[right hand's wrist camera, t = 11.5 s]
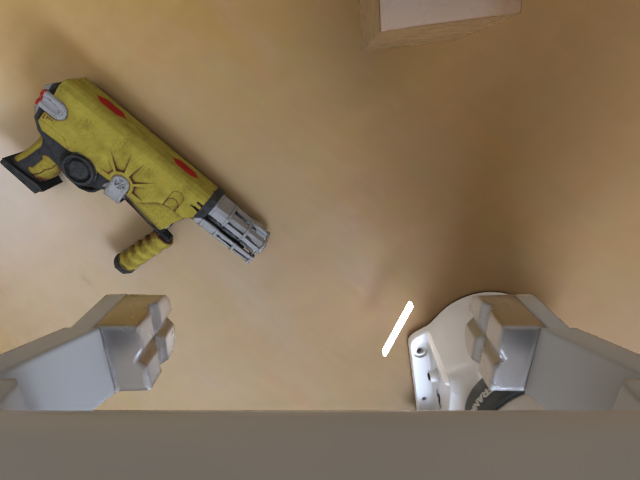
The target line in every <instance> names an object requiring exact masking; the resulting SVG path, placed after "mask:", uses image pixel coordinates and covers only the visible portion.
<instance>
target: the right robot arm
mask: <svg viewBox="0 0 640 480" xmlns="http://www.w3.org/2000/svg"><path fill="white" fill-rule="evenodd" d="M412 308H413V305H412V302H410V301H409V302H408V304H407V306H406V307H405V309H404V311H403V313H402V315H401V317H400V318H399V320H398V322H397V324H396V326H395V328H394V329H393V331H392V333H391V335H390V337H389V339H388V340H387V342H386V344H385V346H384V348H383V350H382V352H383V356H386V355H387V353H388V351H389V350H390V348H391V346H392V344H393V342H394V341H395V339H396V337H397V335H398V333H399V332H400V330H401V328H402V326H403V324H404V323H405V321H406V319H407V317H408V315H409V314H410V312H411V310H412ZM170 311H171V306H170V301H169V298H168V297H167V296H166V295H131V294H130V295H128V294H111V295H106V296H104V297H103V298H102V299H101V300H100V301H99V302H98V303H97V304H96V305H95V306H94V307H93V308H92V309H90V310H89V311H88V312H87V313H86V314H85V315H84V316H83V317H82V318H81V319H80V320H79V321H78V322H76V323H75V324H74V325H73V326H72V327H71V328H63V329H61V330H58V331H56V332H53V333H51V334H49V335H46V336H44V337H41V338H39V339H37V340H34V341H32V342H29V343H27V344H24V345H22V346H20V347H17V348H15V349H12V350H10V351H8V352H5V353H3V354H0V480H640V355H639V354H637V353H635V352H632V351H630V350H627V349H625V348H623V347H620V346H618V345H615V344H613V343H611V342H608V341H606V340H603V339H601V338H599V337H596V336H594V335H591V334H589V333H587V332H584V331H582V330H579V329H577V328H569V327H568V326H567V325H566V324H565V323H564V322H562V321H561V320H560V319H559V318H558V317H557V316H556V315H555V314H554V313H553V312H552V311H551V310H550V309H549V308H547V307H546V306H545V305H544V304H543V303H542V302H541V301H540V300H539V299H538V298H537V297H536V296H534V295H531V294H518V295H509V294H506V293H500V292H482V293H477V294H472V295H469V296H466V297H464V298H461V299H459V300H457V301H455V302H453V303H452V304H450V305H449V306H447V307H446V308H445V309H444V310H443V311H441V312H440V313H439V314H438V316H437V317H436V318H435V319H434V320H433V321H432V322H431V323H430V324H429V325H427V326H425V327H423V328H421V329H419V330H417V331H416V332H414V333H412V334H411V335H410V336H409V338H408V347H409V355H410V362H411V370H412V378H413V385H414V393H415V401H416V408H417V410H93V409H95V408H96V407H97V406H99V405H100V404H101V403H103V402H104V401H105V400H107V399H108V398H109V397H111V396H112V395H113V394H115V391H140V390H151V388H152V387H153V385H154V383H155V381H156V380H157V378H158V376H159V375H160V373H161V366H160V364H161V363H163V362H165V361H166V360H168V359H169V357H170V355H171V353H172V351H173V347H174V343H175V329H174V324H173V323H172V322H171V321H170V320H169V319H168V318H167V316H168V314H169V313H170ZM419 348H421V349H420V350H417V349H419Z"/></svg>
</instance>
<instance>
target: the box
mask: <svg viewBox="0 0 640 480" xmlns="http://www.w3.org/2000/svg"><path fill="white" fill-rule="evenodd" d="M521 3H522V0H359V4H360V19H361V34H362V50H363V52H368V51H375V50H383V49H391V48H398V47H406V46H414V45H422V44H429V43H437V42H445V41H453V40H457V39H459V38H462V37H464V36H466V35H469V34H471V33H474V32H476V31H478V30H481V29H483V28H486V27H488V26H490V25H493V24H495V23H498V22H500V21H503V20H505V19H507V18H510V17H512V16H515V15H517V14H519V13H521Z"/></svg>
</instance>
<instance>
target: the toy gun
mask: <svg viewBox="0 0 640 480" xmlns="http://www.w3.org/2000/svg"><path fill="white" fill-rule="evenodd" d="M34 108H35V116H34V117H35V121H36V125H37V129H38V131H39V133H40V134H41V137H40V139H39V140H38V141H37V142H36V143H34V144H33V145H32V146H31V147H30V148H29V149H27V150H25V151H23V152H20V153H17V154H14V155H11V156H8V157H5V158H2V160H1V161H0V163H1V164H2V165H3V166H4V167H5V168H6V169H8V170H9V171H10V172H11V173H12V174H13V175H14V176H15V177H17V178H18V179H19V180H20V181H21V182H22V183H23V184H25V185H26V186H27V187H28V188H29V189H30V190H31V191H32V192H34V193H38V192H43V191H45V190H47V189H49V188H51V187H53V186H55V185H57V184H60V183H62V182H63V181H62V180H61V179H60V177H59V176H58V174H59V173H60V172H61V171H63V173H64V174H65V175H66V177H67V178H68V179H69V180H70V181H71V182H73V183H74V184H75V185H76V186H77V187H78V188H80V189H82V190H85V191H87V192H96V191H98V190H100V189H104V194H106V195H107V196H109V197H110V198H111V199H113V200H114V201H115V202H117V203H121V202H122V201H123V200H126V201H127V202H128V203H129V204H130V205H131V206H132V207H133V208H134V209H135V210H136V211H137V212H138V213H139V214H140V215H141V216H142V217H143V218H144V219H145V220H146V222H148V223H149V224H150V225H151V226H152V227H153V228H154V229H155V230H154V231H153V232H152V233H151V234H149V235H146V236H145V238H144V239H143V240H139V241H137V243H136V245H132V246H130V247H129V249H128V250H126V251H123V252H122V253H120V254H117V255H116V257H115V259H114V265H115V268H116V269H117V270H119V271H120V272H121V273H123V274H126V273H132V272H133V271H134V270H135V269H136V268H137V267H138V266H139V265H140V264H144V263H145V262H146V261H147V260H148V259H150V258H152V257H154V256H155V254H158V253H160V252H161V251H162V250H163V248H168V247H169V246H171V245H172V243H173V235H172V234H171V233H170V232H169V231H168V230H167V228H168V227H171V226H172V224H173V223H175V222H177V221H179V220H182V219H183V218H191V219H192V220H193V221H195V222H196V223H197V224H198V225H199V226H202V227H203V228H204V229H205V230H206V231H208V232H209V233H210V234H211V235H212V236H213V237H215V238H217V239H218V240H219V241H220V242H222V243H223V244H224V245H225V246H227V247H228V248H229V249H230V250H233V251H234V252H235V253H236V254H237V255H239V256H240V257H241V258H242V259H244V260H245V262H246V263H247V264H248V263H249V262H251V261H252V260H253V259H254V256H255V255H256V254H257V253H258V254H259V253H260V252H261V251H262V250H263V249H264V248H265V246H266V244H267V241H268V239H269V236H270V232H269V231H268V232H267V231H266V230H265V229H264V228H263V227H261V226H260V225H259V224H258V223H257V222H256V221H255V220H254V219H252V218H251V217H249V216H248V215H247V214H246V213H245V212H243V211H242V210H241V209H240V208H239V206H237V205H235V204H234V203H233V202H232V201H231V200H230V199H228V198H227V197H226V196H225V195H224V192H223V191H222V190H221V189H219V188H218V187H217V186H216V185H215V184H213V183H212V182H211V181H210V180H209V179H207V178H206V177H205V176H204V175H203V174H201V173H200V172H199V171H198V170H197V169H195V168H194V167H193V166H192V165H191V164H189V163H188V162H187V161H186V160H184V159H183V158H182V157H181V156H180V155H178V154H177V153H176V152H175V151H174V150H172V149H171V148H170V147H169V146H168V145H166V144H165V143H164V142H163V141H162V140H160V139H159V138H158V137H157V136H156V135H154V134H153V133H152V132H151V131H150V130H148V129H147V128H146V127H145V126H144V125H142V124H141V123H140V122H139V121H138V120H136V119H135V118H134V117H133V116H132V115H130V114H129V113H128V112H127V111H126V110H124V109H123V108H122V107H121V106H120V105H118V104H117V103H116V102H115V101H114V100H112V99H111V98H110V97H109V96H107V95H106V94H105V93H104V92H103V91H101V90H100V89H99V88H98V87H97V86H95V85H94V84H93V83H92V82H91V81H89V80H88V79H87V78H86V77H84V78H80V79H68V80H65V81H63V82H58V83H52V84H47V85H46V86H45V88H44V89H43V90H42V92H41V93H40V97H39V98H38V99H37V100H36V102H35V106H34ZM260 236H261V237H262V238H261V237H260ZM265 238H266V239H265ZM264 239H265V240H264ZM253 242H254V243H253ZM257 245H258V246H259V247H260V248H259V247H258V246H257ZM243 248H245V249H247V250H248V251H249V253H248V252H247V251H246V250H244V249H243ZM253 250H254V251H255V252H254V253H253V254H252V252H253ZM251 254H252V255H251Z"/></svg>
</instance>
